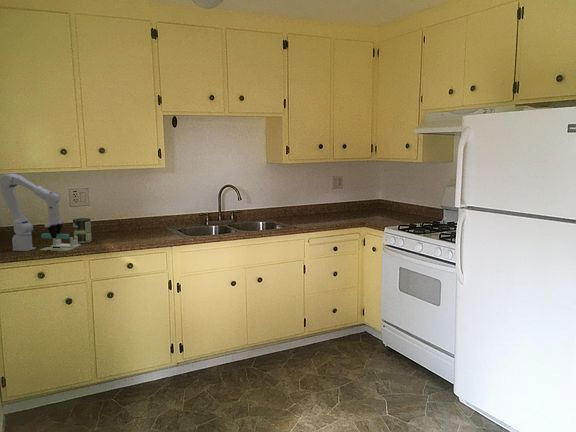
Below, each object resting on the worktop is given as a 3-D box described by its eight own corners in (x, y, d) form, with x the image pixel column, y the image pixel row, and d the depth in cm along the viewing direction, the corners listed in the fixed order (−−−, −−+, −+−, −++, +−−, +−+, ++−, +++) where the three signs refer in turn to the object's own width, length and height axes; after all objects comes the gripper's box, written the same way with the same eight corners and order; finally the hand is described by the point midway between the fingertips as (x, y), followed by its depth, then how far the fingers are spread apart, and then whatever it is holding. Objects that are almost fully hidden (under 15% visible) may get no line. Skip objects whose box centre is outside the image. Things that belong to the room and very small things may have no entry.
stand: (50, 247, 268) (49, 237, 267) (58, 245, 275) (57, 235, 274) (73, 248, 266) (73, 238, 265) (80, 245, 273) (80, 235, 272)
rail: (41, 238, 261) (41, 234, 261) (44, 237, 263) (44, 233, 263) (66, 238, 259) (66, 234, 258) (69, 238, 261) (69, 234, 261)
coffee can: (77, 243, 279) (76, 221, 277) (71, 241, 286) (70, 219, 284) (94, 241, 286) (93, 219, 284) (88, 239, 294) (86, 217, 292)
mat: (39, 250, 260) (39, 249, 260) (46, 248, 266) (46, 247, 266) (66, 251, 258) (66, 250, 258) (73, 248, 264) (73, 248, 264)
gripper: (51, 216, 251) (53, 240, 253) (68, 212, 266) (69, 235, 268) (40, 216, 253) (42, 240, 254) (57, 212, 267) (59, 235, 269)
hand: (55, 237), depth 261 cm, fingers closed on rail, 2 cm apart
